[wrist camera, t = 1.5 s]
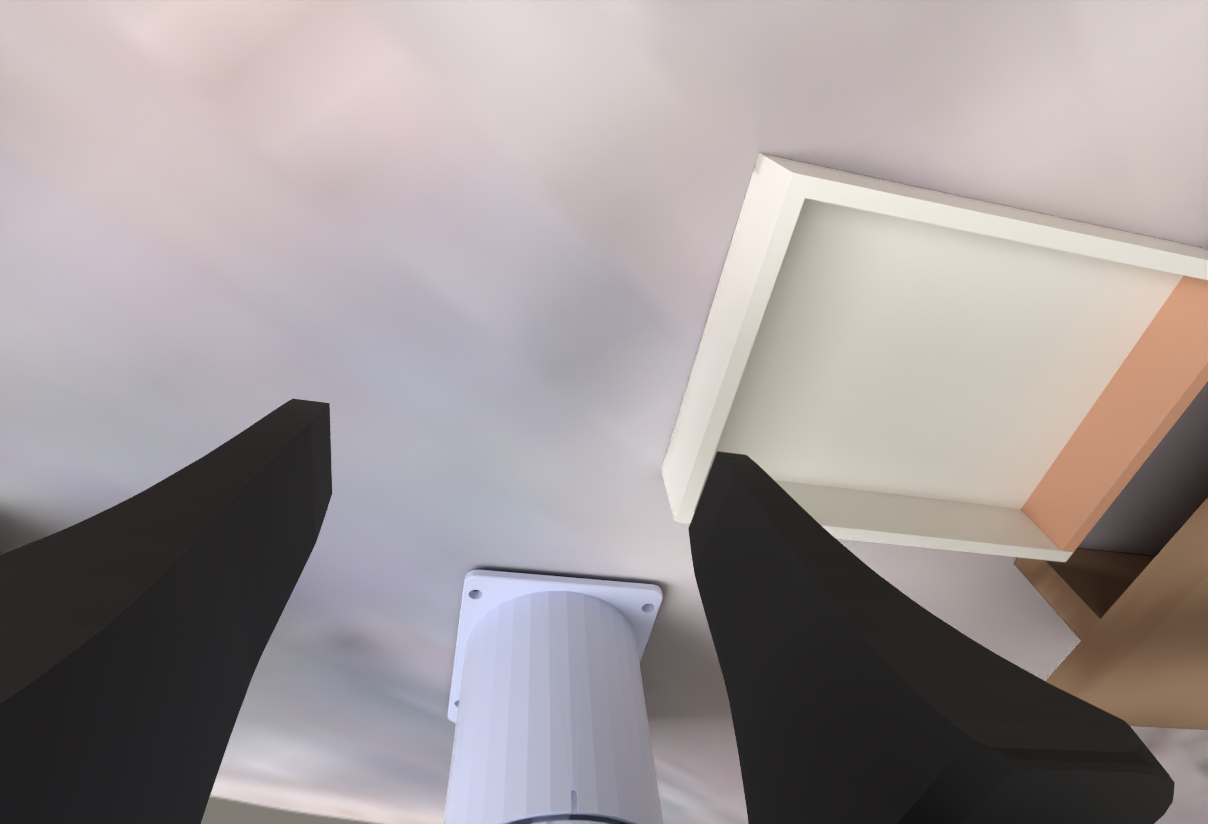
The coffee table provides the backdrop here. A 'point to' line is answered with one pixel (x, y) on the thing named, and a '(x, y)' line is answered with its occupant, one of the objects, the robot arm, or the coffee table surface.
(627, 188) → the coffee table surface
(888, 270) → the white open tray
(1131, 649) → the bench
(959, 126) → the coffee table surface
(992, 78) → the coffee table surface
